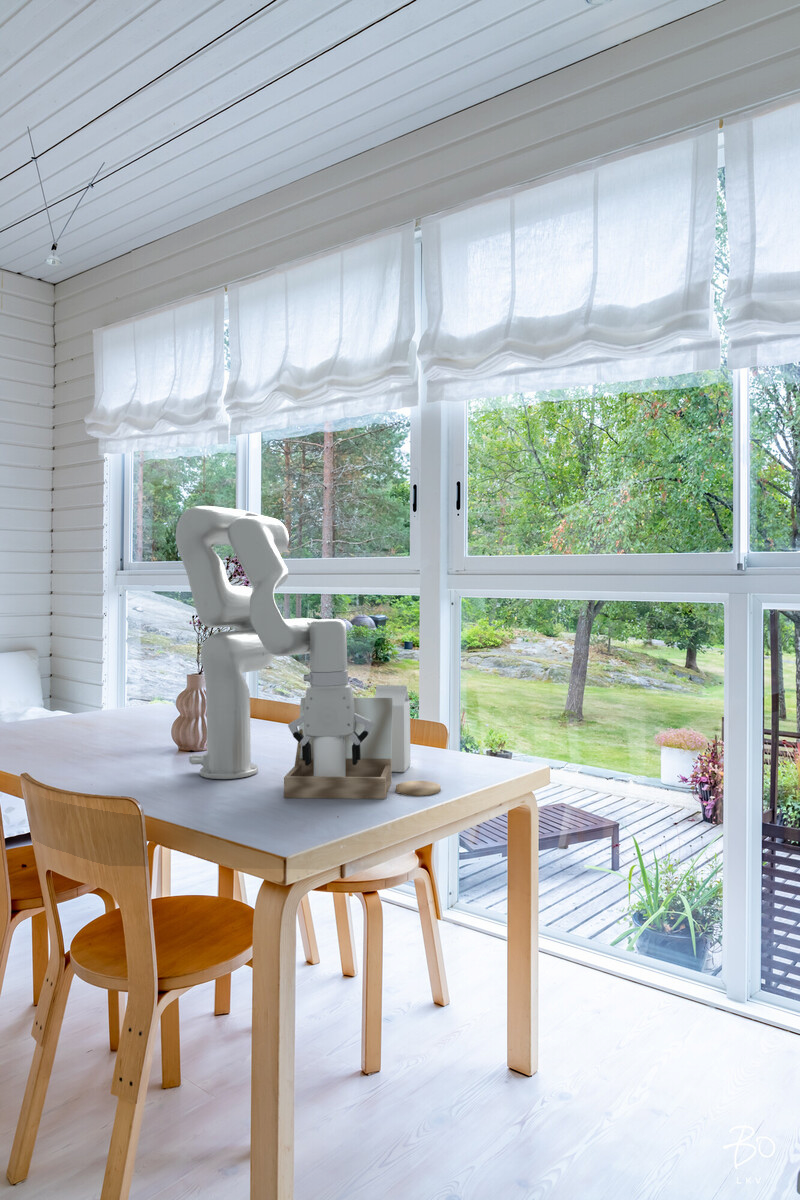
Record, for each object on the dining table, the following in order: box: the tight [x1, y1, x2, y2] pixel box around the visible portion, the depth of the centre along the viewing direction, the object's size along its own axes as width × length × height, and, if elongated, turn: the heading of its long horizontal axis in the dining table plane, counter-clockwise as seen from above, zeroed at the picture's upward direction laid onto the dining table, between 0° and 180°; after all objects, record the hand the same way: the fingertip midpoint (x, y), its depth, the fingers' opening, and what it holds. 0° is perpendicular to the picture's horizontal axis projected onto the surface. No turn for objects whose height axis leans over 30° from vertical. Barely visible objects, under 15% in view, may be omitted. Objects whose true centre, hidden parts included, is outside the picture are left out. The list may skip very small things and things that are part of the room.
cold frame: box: [283, 697, 393, 800], centre depth 165 cm, size 20×18×17 cm
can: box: [313, 737, 346, 777], centre depth 162 cm, size 6×6×12 cm
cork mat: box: [395, 780, 441, 797], centre depth 162 cm, size 9×9×1 cm
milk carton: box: [373, 684, 411, 773], centre depth 181 cm, size 7×7×19 cm
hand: (331, 763), depth 162 cm, fingers open, 9 cm apart
